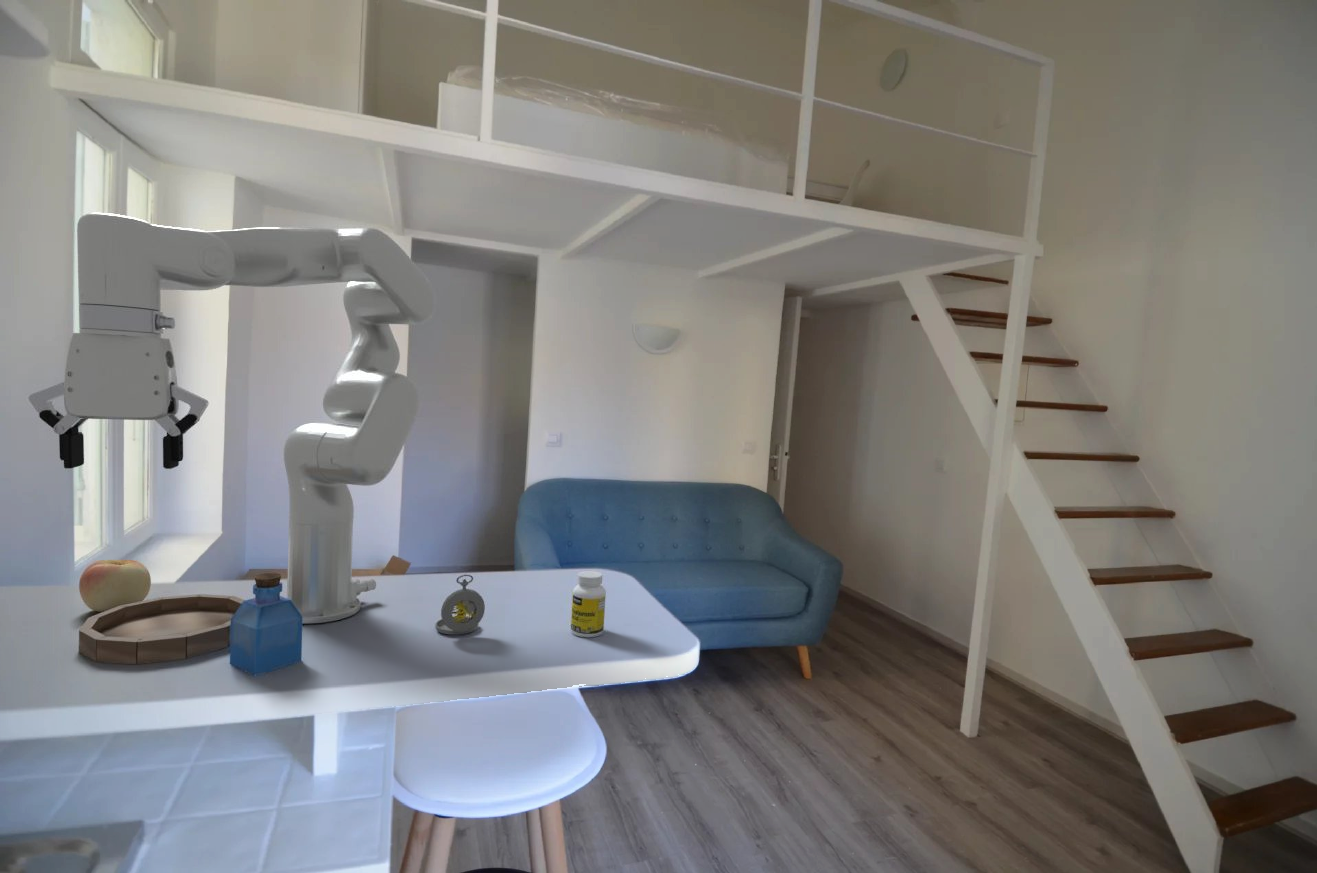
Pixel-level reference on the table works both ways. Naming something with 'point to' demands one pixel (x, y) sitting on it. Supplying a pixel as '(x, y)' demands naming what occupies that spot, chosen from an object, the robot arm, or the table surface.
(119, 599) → the apple
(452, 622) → the pocket watch
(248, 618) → the perfume bottle
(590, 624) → the supplement bottle
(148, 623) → the walnut tray
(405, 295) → the robot arm
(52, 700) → the table surface
